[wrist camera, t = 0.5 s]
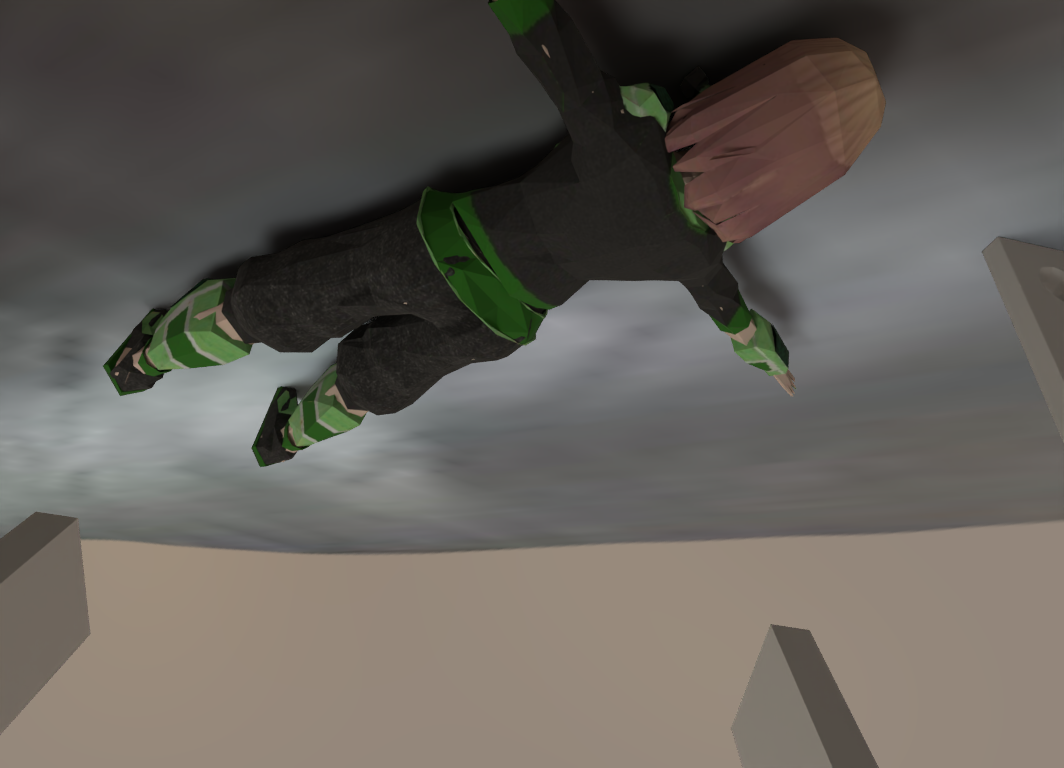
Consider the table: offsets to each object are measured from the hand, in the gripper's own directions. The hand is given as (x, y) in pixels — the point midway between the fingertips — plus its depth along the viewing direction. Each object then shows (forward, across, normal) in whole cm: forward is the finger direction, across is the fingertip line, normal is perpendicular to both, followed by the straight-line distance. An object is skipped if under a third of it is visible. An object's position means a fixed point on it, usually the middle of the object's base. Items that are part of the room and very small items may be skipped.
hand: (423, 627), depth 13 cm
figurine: (+16, -2, +4) cm, 17 cm away
